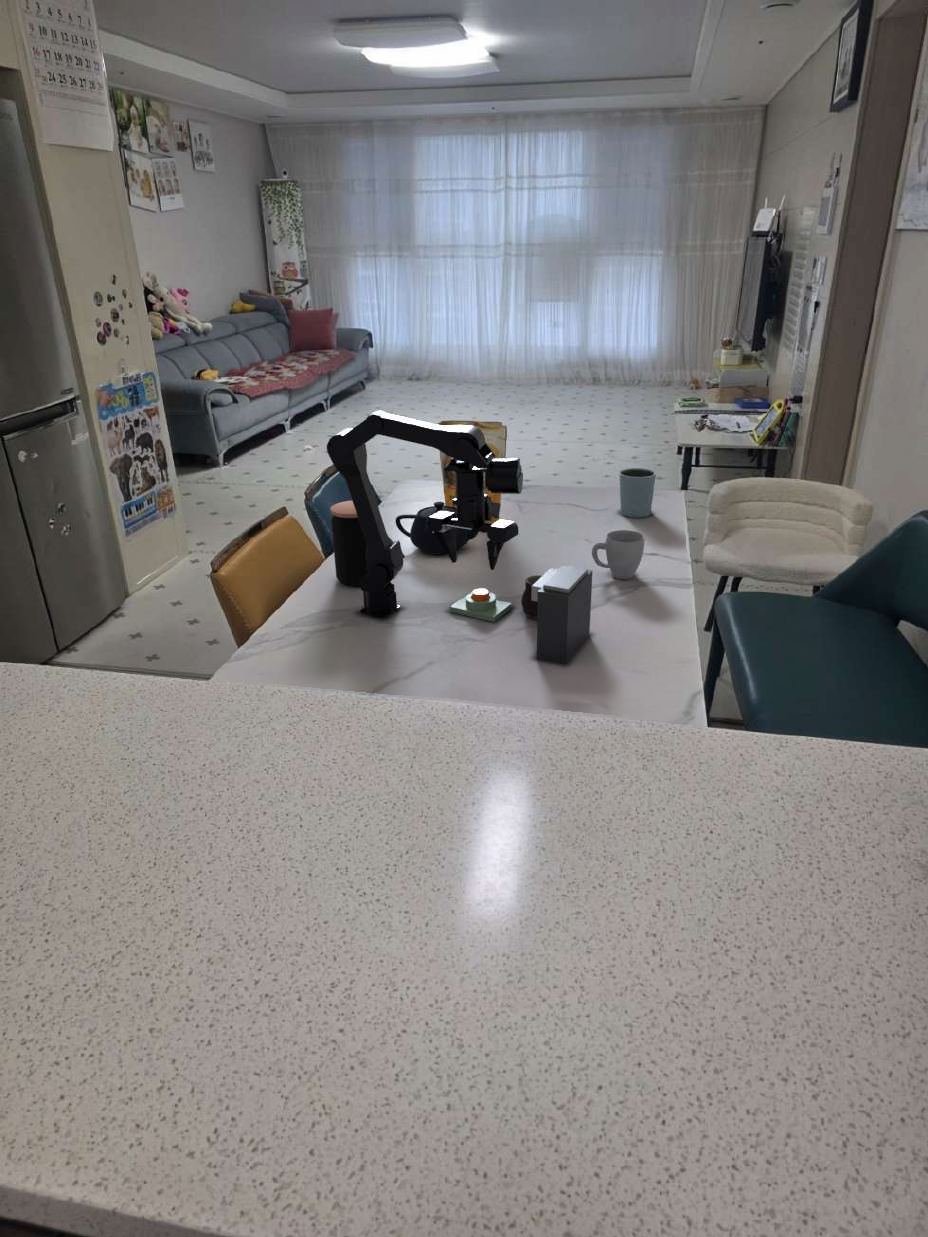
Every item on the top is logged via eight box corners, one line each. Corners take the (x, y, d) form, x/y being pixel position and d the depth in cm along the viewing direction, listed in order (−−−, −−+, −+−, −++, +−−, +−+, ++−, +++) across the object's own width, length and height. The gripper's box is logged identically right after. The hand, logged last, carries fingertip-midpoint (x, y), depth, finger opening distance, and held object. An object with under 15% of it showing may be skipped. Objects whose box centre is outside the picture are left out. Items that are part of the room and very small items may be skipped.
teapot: (389, 556, 209) (387, 510, 204) (403, 536, 223) (401, 492, 218) (487, 560, 205) (486, 513, 200) (495, 539, 219) (495, 495, 214)
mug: (638, 567, 199) (641, 529, 195) (644, 581, 191) (647, 542, 187) (588, 568, 200) (590, 530, 196) (592, 581, 192) (594, 542, 188)
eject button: (469, 600, 177) (469, 592, 176) (477, 594, 180) (477, 587, 179) (483, 603, 175) (483, 596, 175) (492, 597, 178) (492, 590, 177)
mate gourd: (527, 605, 180) (528, 562, 176) (560, 610, 178) (562, 567, 173) (515, 618, 175) (515, 574, 170) (549, 623, 172) (550, 579, 167)
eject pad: (449, 611, 178) (449, 598, 177) (468, 598, 184) (468, 586, 183) (494, 622, 173) (493, 609, 172) (512, 608, 179) (512, 595, 178)
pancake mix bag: (442, 515, 239) (439, 418, 228) (507, 518, 235) (507, 420, 224) (436, 522, 233) (433, 423, 222) (503, 526, 230) (503, 425, 218)
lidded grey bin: (526, 656, 159) (527, 585, 152) (552, 627, 170) (554, 560, 164) (565, 664, 155) (568, 592, 149) (589, 634, 167) (592, 566, 160)
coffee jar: (390, 575, 198) (385, 503, 190) (367, 591, 189) (361, 516, 182) (352, 569, 202) (346, 498, 194) (327, 584, 193) (320, 510, 186)
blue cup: (655, 518, 233) (659, 476, 228) (619, 518, 233) (622, 477, 228) (648, 507, 242) (652, 467, 237) (614, 507, 243) (616, 467, 238)
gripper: (531, 486, 164) (532, 560, 171) (452, 477, 174) (456, 547, 180) (503, 501, 156) (505, 578, 162) (422, 491, 165) (427, 564, 172)
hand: (473, 566), depth 169 cm, fingers open, 9 cm apart
